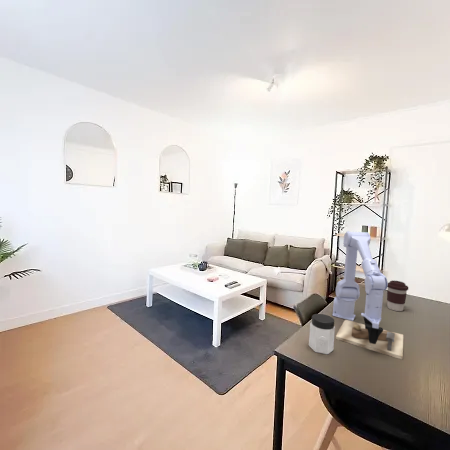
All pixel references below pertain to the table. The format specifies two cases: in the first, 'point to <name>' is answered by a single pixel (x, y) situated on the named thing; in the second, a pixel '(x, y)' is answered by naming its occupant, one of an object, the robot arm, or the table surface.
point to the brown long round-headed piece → (364, 334)
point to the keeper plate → (385, 347)
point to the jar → (322, 333)
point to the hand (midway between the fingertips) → (370, 337)
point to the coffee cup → (396, 295)
